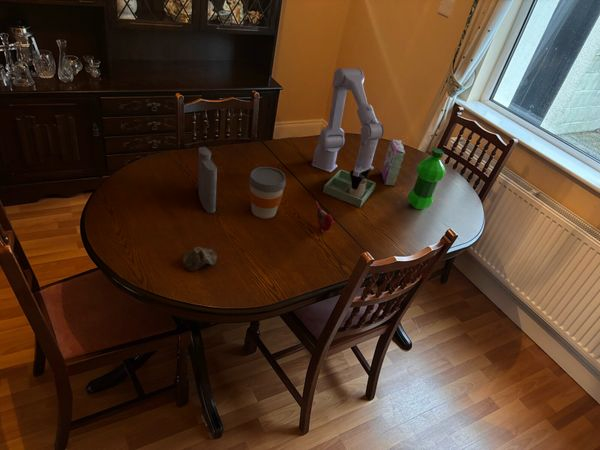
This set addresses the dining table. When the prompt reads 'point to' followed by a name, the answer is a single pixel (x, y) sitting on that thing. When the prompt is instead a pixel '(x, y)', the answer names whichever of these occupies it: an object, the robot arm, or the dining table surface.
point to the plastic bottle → (427, 180)
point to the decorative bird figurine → (324, 219)
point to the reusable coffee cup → (266, 191)
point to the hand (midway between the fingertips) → (357, 184)
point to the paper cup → (360, 189)
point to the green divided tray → (346, 188)
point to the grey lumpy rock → (199, 258)
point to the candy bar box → (393, 162)
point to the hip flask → (207, 180)
